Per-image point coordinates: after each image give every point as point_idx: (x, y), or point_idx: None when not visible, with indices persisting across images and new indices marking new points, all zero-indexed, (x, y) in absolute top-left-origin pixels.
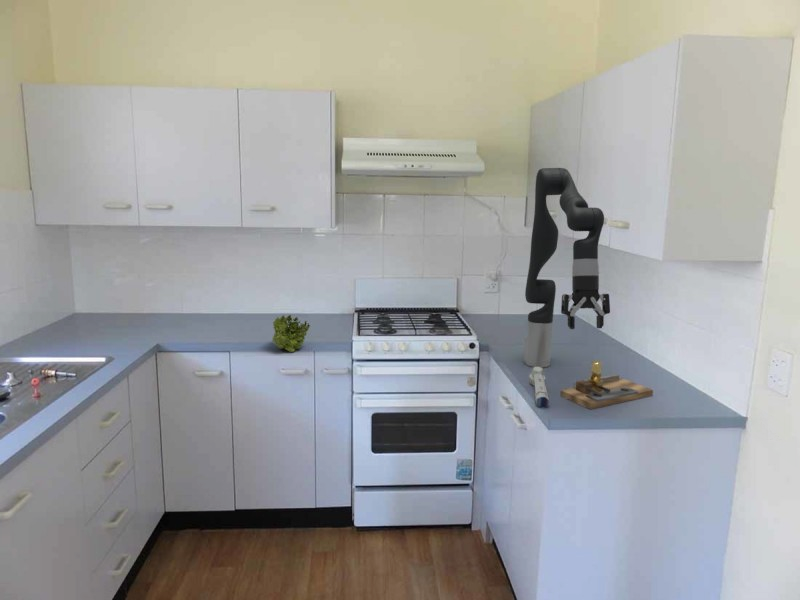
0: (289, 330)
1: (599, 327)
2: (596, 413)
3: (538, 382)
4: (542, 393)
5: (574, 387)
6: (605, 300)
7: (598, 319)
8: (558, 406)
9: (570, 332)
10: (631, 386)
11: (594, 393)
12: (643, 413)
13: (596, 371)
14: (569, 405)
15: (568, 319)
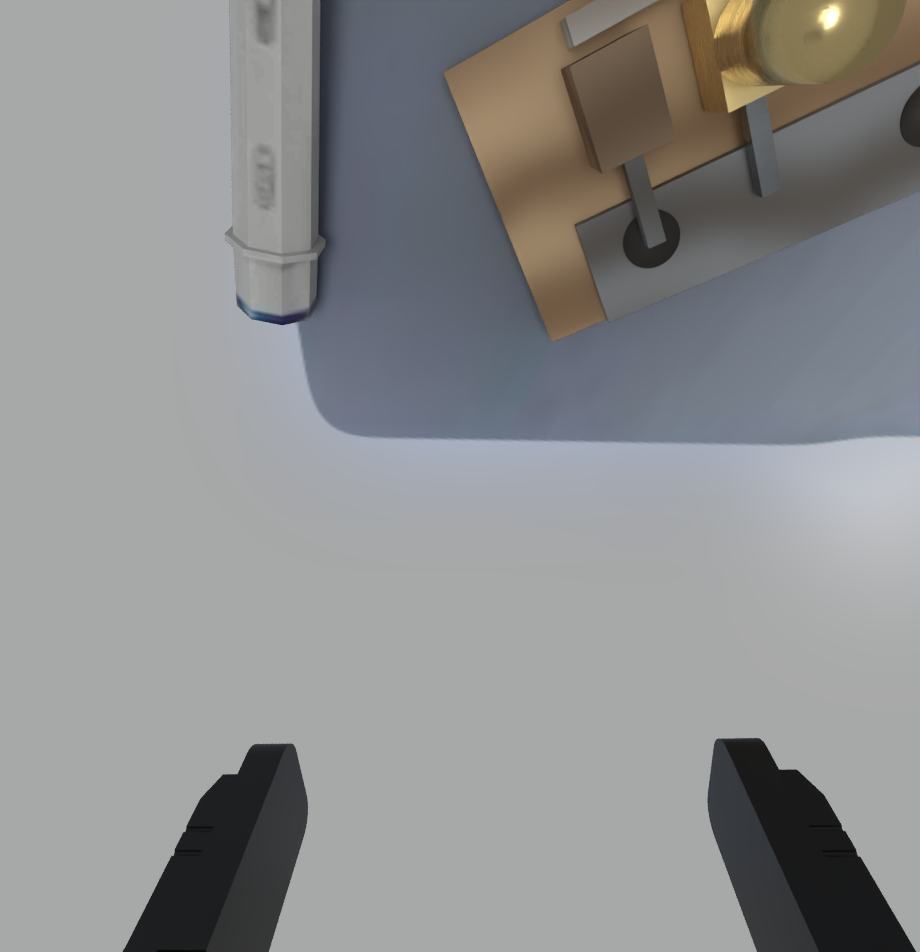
0: None
1: (711, 820)
2: (558, 380)
3: (248, 56)
4: (266, 268)
5: (564, 34)
6: None
7: (770, 935)
8: (382, 280)
9: None
10: None
11: None
12: (810, 384)
13: (771, 80)
14: (452, 265)
15: (160, 920)
